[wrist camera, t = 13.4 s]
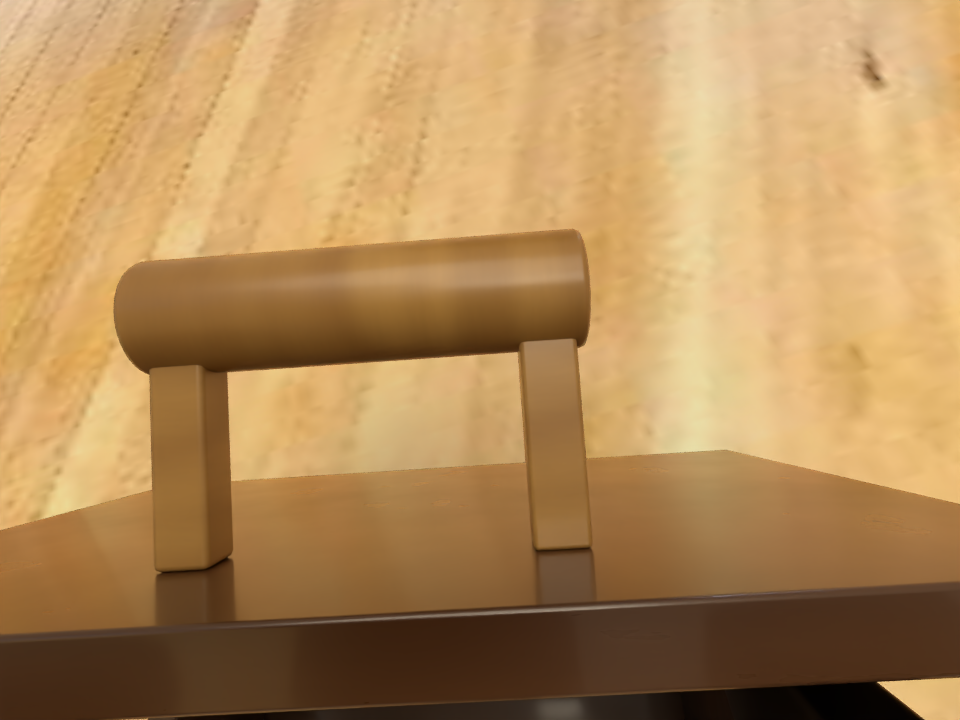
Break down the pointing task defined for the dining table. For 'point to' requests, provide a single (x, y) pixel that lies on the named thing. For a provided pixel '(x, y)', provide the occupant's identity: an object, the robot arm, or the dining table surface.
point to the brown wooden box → (525, 709)
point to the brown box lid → (446, 525)
